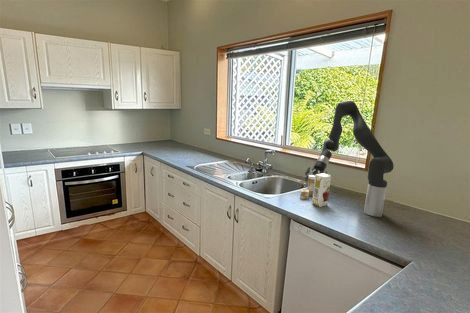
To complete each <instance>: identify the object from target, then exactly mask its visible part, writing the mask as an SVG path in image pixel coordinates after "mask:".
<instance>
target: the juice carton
mask: <svg viewBox="0 0 470 313" xmlns="http://www.w3.org/2000/svg"><path fill="white" fill-rule="evenodd" d="M331 179H332V175H331V174H324V173H321V174H315V182H314V191H313V196H312V201H311V204H312V205H315V206H317V207H318V208H321V207H322V208H323V207H325V206H328V202H329V195H330V188H331V181H332V180H331Z"/></svg>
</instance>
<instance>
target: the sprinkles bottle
mask: <svg viewBox="0 0 470 313" xmlns="http://www.w3.org/2000/svg"><path fill="white" fill-rule="evenodd" d="M307 182H308V183H307V188H306V190H309V196H311V197H313V191H314V182H315V176H314V175H309V177H308V181H307Z"/></svg>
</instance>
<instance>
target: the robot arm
mask: <svg viewBox="0 0 470 313" xmlns="http://www.w3.org/2000/svg"><path fill="white" fill-rule="evenodd" d="M343 117H350V118H351V119H352V121H353V126H352V133H353V137H354V139H355V140H356V141H357V143H358V144H359V145H360V146H361V147H362V148H363V149H364V150H366V151H367V152H369V154H371V155H372V157H373V158H371V160H370V161H369V163H368V171H367V180H368V183H367V189H366V196H365V201H364V208H363V213H364V214H365V215H367V216H372V217H377V218H378V217H379V218H381V217H383V211H384V207H385V206H384V205H385V198H386V192H387V187H388V181H387V180H385V179H384V174H388V173H391V172H392V171H393V170H394V167H395V166H394V165H395V164H394V161H393V160H392V159H391V157H390V155H389V154H388V153H387V152H386V151H385V149H384V148H383V147H382V146H381V144H380V143H379V141H378V139H377V138H376V136H375V135H374V133H373V131H372V130H371V129H370V127H369V126H368V124H367V122H366V121H365V119H364V118H363V116H362V114H361V112H360V110H359V108H358V105H357V103H355V101H353V100H345V101H339V102H338V103H337V104H336V107H335V111H334V116H333V123H332V127H331V130H330V133H329V135H328V138H329V139H325V140H324V142H323V143H322V144H323V145H322V150H321V153H320V155H319V157H318V158H317V160H316V161H315V164H314V165H313V167H312V168H311V167H308V168H307V169H306V170H305V173H304V174H305V178H304V180H305V182H308V177H309V175H314V176H315V174H321V173H324V174H328V171H327V170H326V168H327V167H328V165H329V162H330V160H331V158H332V155H333V154H332V152H333V153H336V152H337V151H338V150H339V147H340V138H341V136H342V133H343V126H342V123H341V122H342V119H343ZM328 175H329V174H328Z"/></svg>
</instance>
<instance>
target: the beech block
mask: <svg viewBox="0 0 470 313" xmlns="http://www.w3.org/2000/svg"><path fill="white" fill-rule="evenodd" d="M299 194H300V196H299V198H300V200H309V190H307V188H306V189H305V188H300V192H299Z"/></svg>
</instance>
